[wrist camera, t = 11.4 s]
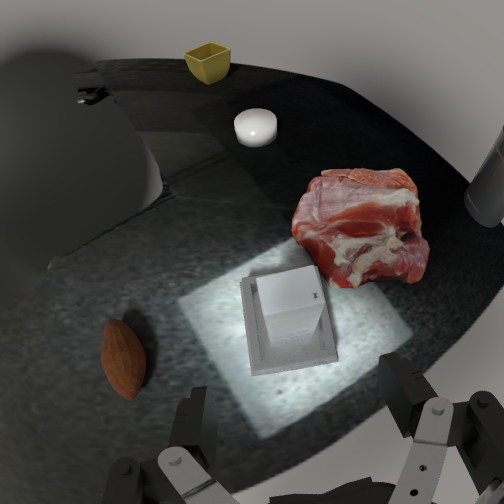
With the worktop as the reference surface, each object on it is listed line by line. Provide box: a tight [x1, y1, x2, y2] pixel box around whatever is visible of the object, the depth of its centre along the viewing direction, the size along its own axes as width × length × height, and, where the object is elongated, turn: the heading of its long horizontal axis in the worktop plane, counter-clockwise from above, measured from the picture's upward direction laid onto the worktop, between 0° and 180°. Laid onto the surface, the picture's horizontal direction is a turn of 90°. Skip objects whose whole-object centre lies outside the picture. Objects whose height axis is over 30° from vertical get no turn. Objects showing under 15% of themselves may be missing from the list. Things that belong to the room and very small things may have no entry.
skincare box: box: [256, 265, 326, 342], centre depth 34 cm, size 6×4×12 cm
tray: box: [240, 266, 338, 376], centre depth 38 cm, size 11×13×3 cm
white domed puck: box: [234, 109, 277, 147], centre depth 56 cm, size 8×8×4 cm
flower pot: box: [183, 42, 230, 85], centre depth 66 cm, size 9×9×9 cm
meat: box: [292, 168, 430, 288], centre depth 41 cm, size 21×21×10 cm
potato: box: [101, 319, 146, 400], centre depth 36 cm, size 6×12×6 cm, turn 21°
